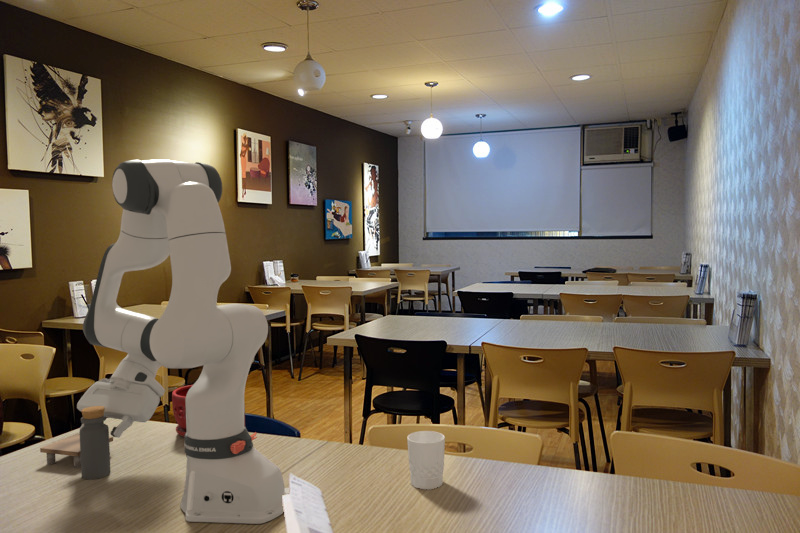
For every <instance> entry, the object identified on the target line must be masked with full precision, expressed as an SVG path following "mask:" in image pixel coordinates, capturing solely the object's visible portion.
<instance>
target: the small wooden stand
mask: <svg viewBox="0 0 800 533" xmlns="http://www.w3.org/2000/svg"><path fill="white" fill-rule="evenodd" d="M113 441H114V437H113V436H109V444H110V443H111V442H113ZM39 452H40V453H45V454H46V464H47V465H55V464H56V462H57V461H56V460H57V459H56V455H62V456H72V457H73V467H74V468H75V469H76V468H77V469H78V468H81V455H80V432H79V433H75V434H73V435H70V436H67V437H65V438H63V439H60V440H57V441H55V442H52V443H50V444H46V445H44V446H42V447H39Z"/></svg>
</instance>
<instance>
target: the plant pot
mask: <svg viewBox="0 0 800 533" xmlns="http://www.w3.org/2000/svg"><path fill="white" fill-rule="evenodd" d="M193 385H194V384H190V385H185V386H181V387H178V388H176V389H174V390H173V391H172V393H171V402H172V411H173V412H172V413H173V416H174V419H175V422H176V423H177V426H175V432H176V433H177V435H179V436H181V437H184V438H185V434H186V432H187V428H186V401H185V400H186V395H187V393H188V391H189V389H190V388H191V387H192V386H193Z"/></svg>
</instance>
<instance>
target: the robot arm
mask: <svg viewBox="0 0 800 533" xmlns="http://www.w3.org/2000/svg"><path fill="white" fill-rule="evenodd" d="M111 181H112V182H111V187H112V188H111V189H112V194H113V197H114V200H115V202H116V203H117V205H119V206H120V207H121V208H122V214H121V220H120V221H121V222H120V230H119V236H118V238H117V240H116V242H115V243H112V244H110V245H109V246H108V247H107V248H106V250H105V251H104V253H103V256H102V257H101V258H102V259H101V262H100V265H99V269H98V273H97V275H96V276H97V277H96V281H95V285H94V288H93V293H92V297H91V302H90V305H89V307H88V310H87V313H86V314H85V317H84V319H83V324H82V331H83V334H84V336H85V339H86V340H87V341H88V343H89V344H90V345H92V346H98V347H101V348H110V349H113V350H116V351H120V352H123V353H127V354H126V356H125V357H124V358H122V360H120V362H119V364H118V366H117V367H116V368H115V370H114V372H113V373H112V375H111V376H110V377H109V378H101V379H99V380H98V381H95V382H94V383H93V384H91V385H90V387H89V388H88V389H86V391H85V392H84V394H83V395H81V397H80V399H79V400H78V402H77V404H76V409H77V410H78V411H79V412H81V410H82V409H84V408H87V407H92V406H103V407H105V410H104V414H105V415H106V419H107V418H108V419H115V420H121V422H120V423H119V424H118V425H117V426H113V427H112V430H111V431H110V433H109V435H110V436H111V437H113V438H117V439H119V438H120V437H121V436H122V434H123V433H124V432H125V431H126V430H127V429H129V428H130V427H131V426H133V424H134V422H137V423H138V422H139V423H147V421H150V419H151V418H152V417H153V415H154V414H155V411H156V410H157V408H158V406H159V404H160V401H161V400H160V399H161V397H163V396H164V395H165V392H166V389H165V388H164V387H163V386H162V384H161V383H160V382H159V381H157V380H156V376H157V372H158V370H159V369H160V368H161V367H164V368H166V369H193V368H198V367H202V370H201V373H200V374H199V377H198V379H197V380H196V381H195V382H194V383H193V384H192V385H193V386H192V387H191V388H190V389H189V391H188V393H187V395H186V400H185V401H186V428H187V432H186V434H185V437H184V452H185V456H186V470H185V471H186V472H185V482H184V486H183V487H184V488H183V492H182V497H181V501H180V509H181V510H182V511H183V513H184V514H185V518H184V519H185V521H187V522H190V523H192V522H194V523H195V522H196V523H198V522H199V523H220V524H221V523H224V524H252V525H253V524H256V525H258V524H264V523H268V522H270V521H272V520H274V519H276V518H278V517H279V516H281V515H282V514H284V513H283V506H282V495H284V494H289V487H285V482H284V481H285V480H284V477H283V473H282V471H281V469H280V467H279V466H278V465H277V464H276V463H274V462H273V461H271V460H270V459H269V458H267V456H265V455H264V454H263V453H261V452H260V451H259V450H258V449H256V447H255V446H254V443H253V441H254V440H255V439H257V438H258V436H257V432H254V433H252V434H250V433H249V430H248V429H247V427H246V425H245V426H244V404H245V393H246V392H245V391H246V383H247V379H248V375H249V372H250V370H251V369H250V368H251V366H252V364H253V361H254V359H255V356H256V354H257V353H258V351H259V350H260V348H261V347H262V346H263V345H264V343H265V342H266V340H267V338H268V333H269V324H268V321H267V318H266V315H265V314H264V312H263V311H262V310H261V309H260V308H259V307H258V306H255V305H253V304H252V305H251V304H246V303H245V304H244V303H226V304H220V305H219V304H217V303H218V294H219V291H220V287H221V286H222V284H224V283H225V281H227V280H228V278H229V277H230V275H231V272H232V265H231V259H230V258H231V257H230V252H229V245H228V239H227V233H226V232H227V231H226V228H225V223H224V219H223V218H224V217H223V216H222V211H221V209H220V205H219V202H220V201H221V198H222V195H223V182H222V178H221V175H220V173H219V172H218V170H217V169H216V168H215V167H214V166H212V165H210V164H207V163H203V162H199V161H197V162H188V161H182V160H180V161H179V160H171V159H162V158H161V159H160V158H159V159H143V160H140V159H137V158H136V159H130V160H125V161H122V162H120V163H119V164H118V165H117V166H116V168H115V169H114V171H113V174H112V179H111ZM168 257H169V259H170V267H171V268H170V269H171V278H172V279H171V280H172V282H171V284H172V285H171V290H170V296H169V300H168V302H167V305H166V307H165V309H164V311H163V313H162V314H161V316H160V317H159V318H157V317H155V316H152V315H149V314H144V313H142V312H137V311H134V310H133V311H132V310H130V309H126V308H123V307H121V306H119V305H118V303H117V299H118V294H119V291H120V286H121V283H122V280H123V276H124V274H125V273H127V272H133V271H144V270H148V269H152V268H154V267H157V266H159V265H160V264H162V263H163V262H165V261H166V260H167V259H168ZM82 427H84V424H82V423H81V426H80V427H79V430H80V429H81V428H82Z"/></svg>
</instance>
